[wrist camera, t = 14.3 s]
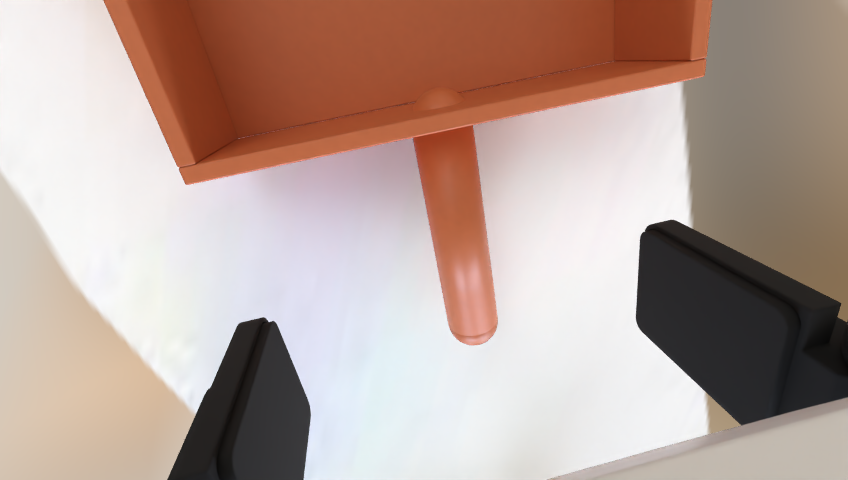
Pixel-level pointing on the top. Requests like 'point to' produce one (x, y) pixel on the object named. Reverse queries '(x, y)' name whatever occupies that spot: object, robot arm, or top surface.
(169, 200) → the top surface
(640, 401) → the top surface
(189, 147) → the dustpan
